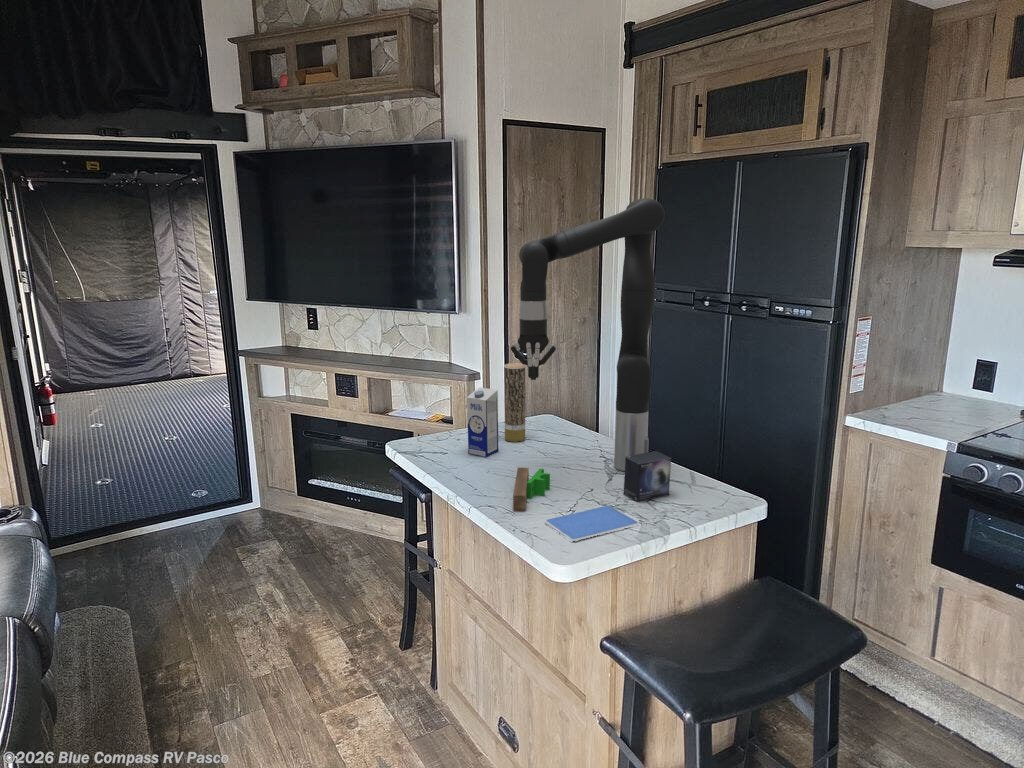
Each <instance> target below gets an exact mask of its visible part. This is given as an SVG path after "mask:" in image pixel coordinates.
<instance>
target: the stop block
mask: <svg viewBox="0 0 1024 768" xmlns="http://www.w3.org/2000/svg"><path fill="white" fill-rule="evenodd" d="M529 470H530V469H529V467H517V470H516V474H515V475H516V476H515V482H514V487H513V488H514V489H513V495H512V503H513V504H512V511H513V510H514V512H526V509H527V499H528V498H527V482H528V481H529V480H530V479H529V478H530V477H529V476H530V475H529V473H530V471H529Z"/></svg>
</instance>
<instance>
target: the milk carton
mask: <svg viewBox="0 0 1024 768" xmlns="http://www.w3.org/2000/svg"><path fill="white" fill-rule="evenodd" d="M498 391H499V390H498V389H494V388H486V387H480V386H479V387H478V388H476V389H474V391H473V392H472V393H470V394H469V395H467V397H466V399H467V401H466V402H467V405H466V406H467V408H466V409H467V447H468V448H467V449H468V455H473V456H477V457H482V458H486V457H487V458H489V457H490V455H491V456H493V455H495V454H497V453H499V403H498V402H499V395H498ZM496 452H497V453H496ZM494 453H495V454H494ZM492 454H493V455H492ZM488 456H489V457H488Z"/></svg>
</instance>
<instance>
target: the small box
mask: <svg viewBox="0 0 1024 768" xmlns="http://www.w3.org/2000/svg"><path fill="white" fill-rule="evenodd" d="M671 464H672V457H670V456H668V455H665V454H664V453H662V452H659V451H658V450H654V451H648V453H642V454H637V455H631V456H626V457H625V471H624V479H623V480H624V481H623V483H624V484H623V495H624V496H626V497H628V498H630V499H632V500H634V501H635V502H637V503H638V502H642V501H648V500H652V499H657V498H660V497H666V496H669V495H670V482H671V470H672V469H671V468H672V465H671Z"/></svg>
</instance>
